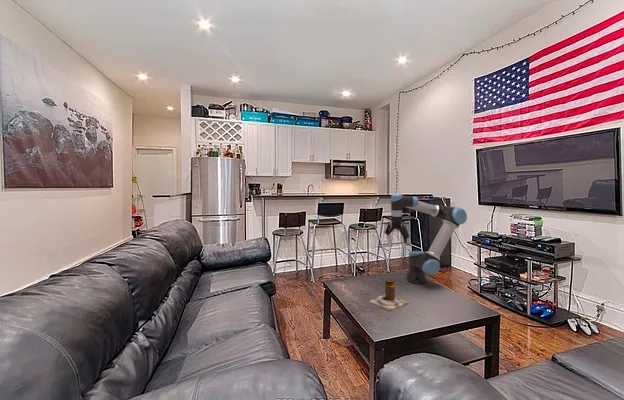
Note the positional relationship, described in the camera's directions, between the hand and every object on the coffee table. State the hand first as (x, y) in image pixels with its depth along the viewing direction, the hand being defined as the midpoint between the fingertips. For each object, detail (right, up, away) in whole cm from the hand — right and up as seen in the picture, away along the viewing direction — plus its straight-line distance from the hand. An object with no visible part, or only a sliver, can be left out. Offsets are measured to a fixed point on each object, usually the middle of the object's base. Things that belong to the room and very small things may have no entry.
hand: (396, 245), depth 200 cm
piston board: (-10, -34, -18) cm, 40 cm away
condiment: (-10, -32, -18) cm, 38 cm away
